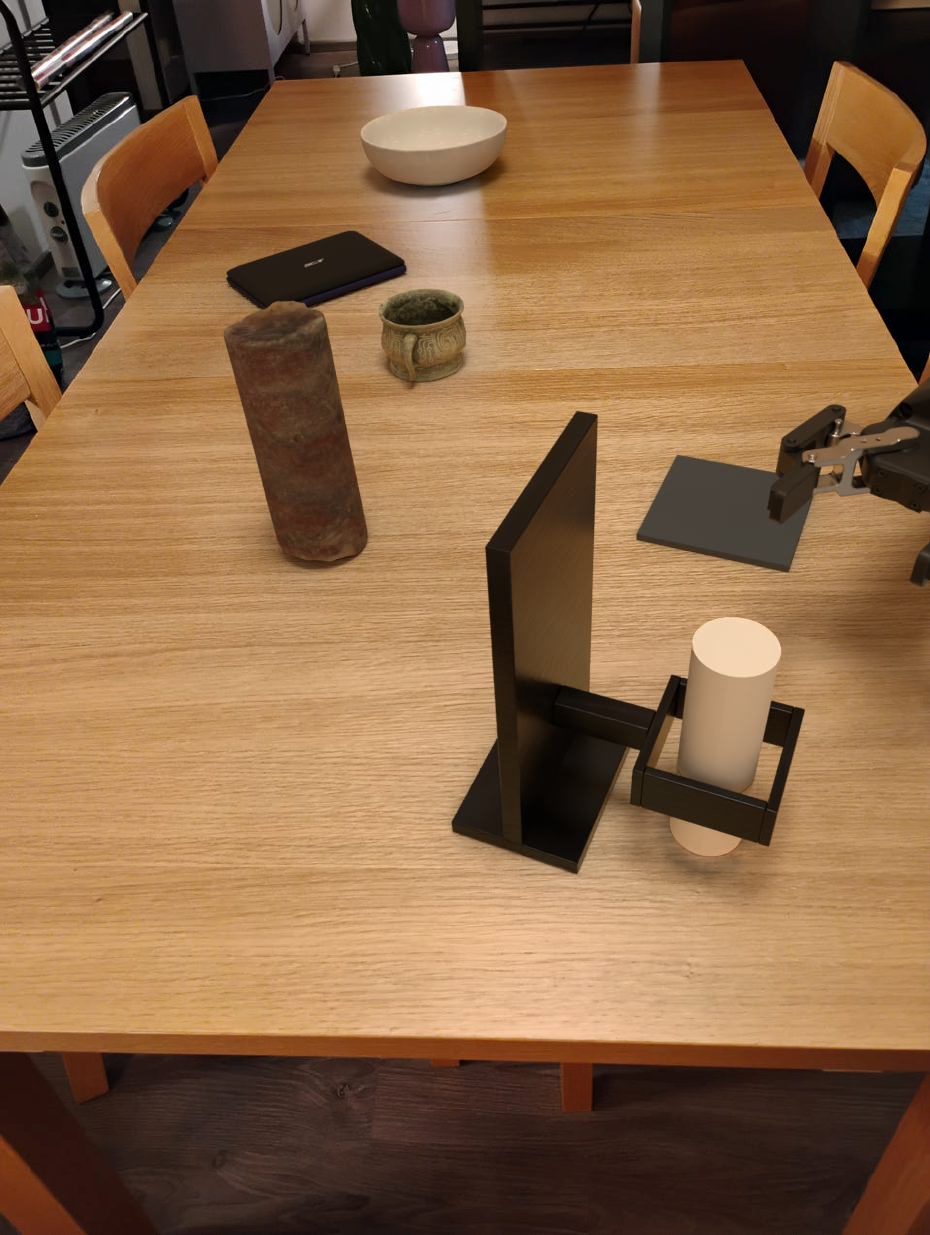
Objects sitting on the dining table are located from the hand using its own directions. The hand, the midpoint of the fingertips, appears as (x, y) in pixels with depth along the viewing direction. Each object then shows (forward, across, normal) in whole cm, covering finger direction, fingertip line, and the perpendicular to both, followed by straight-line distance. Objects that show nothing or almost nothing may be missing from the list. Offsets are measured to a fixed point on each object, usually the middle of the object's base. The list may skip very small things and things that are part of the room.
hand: (844, 540), depth 55 cm
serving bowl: (-58, -93, +16) cm, 111 cm away
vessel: (-18, -54, +16) cm, 59 cm away
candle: (+8, -39, +16) cm, 43 cm away
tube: (+11, 0, +15) cm, 19 cm away
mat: (-16, -16, +15) cm, 28 cm away
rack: (+13, -5, +15) cm, 20 cm away
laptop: (-25, -80, +16) cm, 85 cm away
